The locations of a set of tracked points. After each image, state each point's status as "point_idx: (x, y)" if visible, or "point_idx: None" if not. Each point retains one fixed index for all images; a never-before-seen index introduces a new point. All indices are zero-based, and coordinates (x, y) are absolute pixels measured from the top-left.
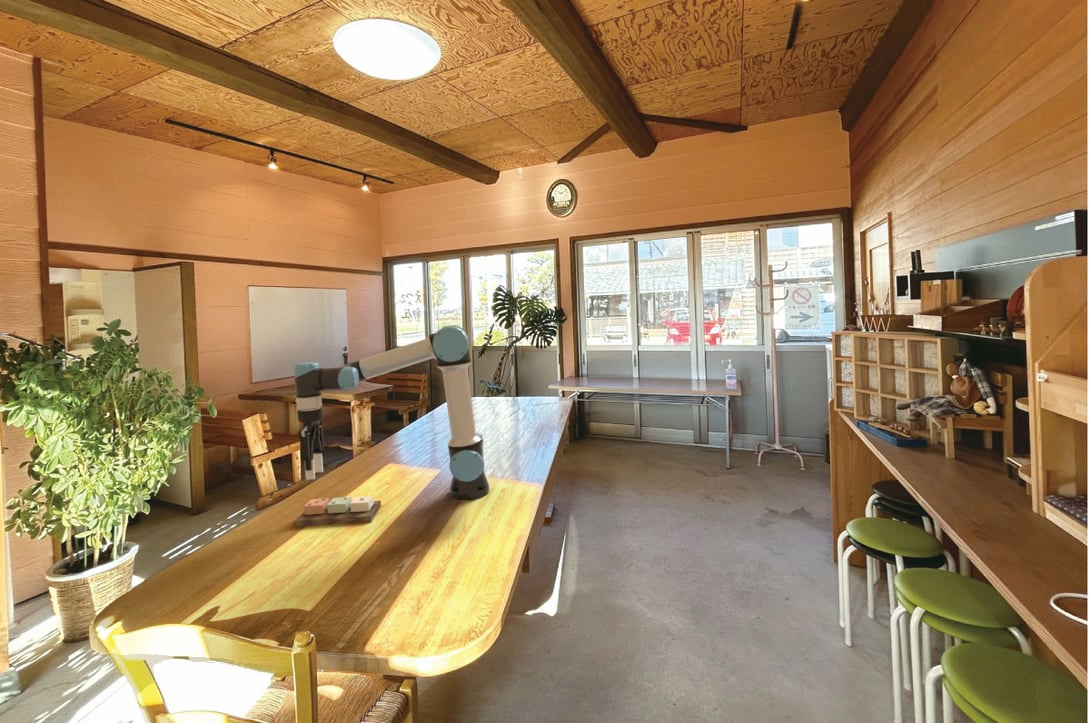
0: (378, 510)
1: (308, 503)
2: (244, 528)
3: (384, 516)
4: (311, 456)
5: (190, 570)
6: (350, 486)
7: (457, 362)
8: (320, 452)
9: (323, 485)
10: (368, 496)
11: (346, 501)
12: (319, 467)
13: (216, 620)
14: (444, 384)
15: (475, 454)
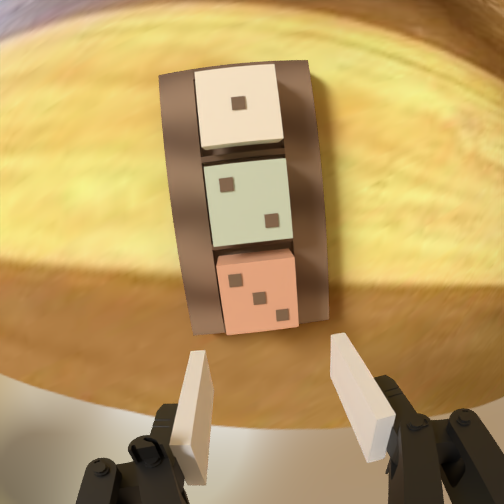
0: None
1: (271, 324)
2: (307, 426)
3: (250, 42)
4: (422, 438)
5: (465, 386)
6: (9, 286)
7: None
8: (168, 458)
9: (24, 367)
10: (202, 88)
11: (258, 165)
12: (205, 383)
13: None
14: None
15: None
